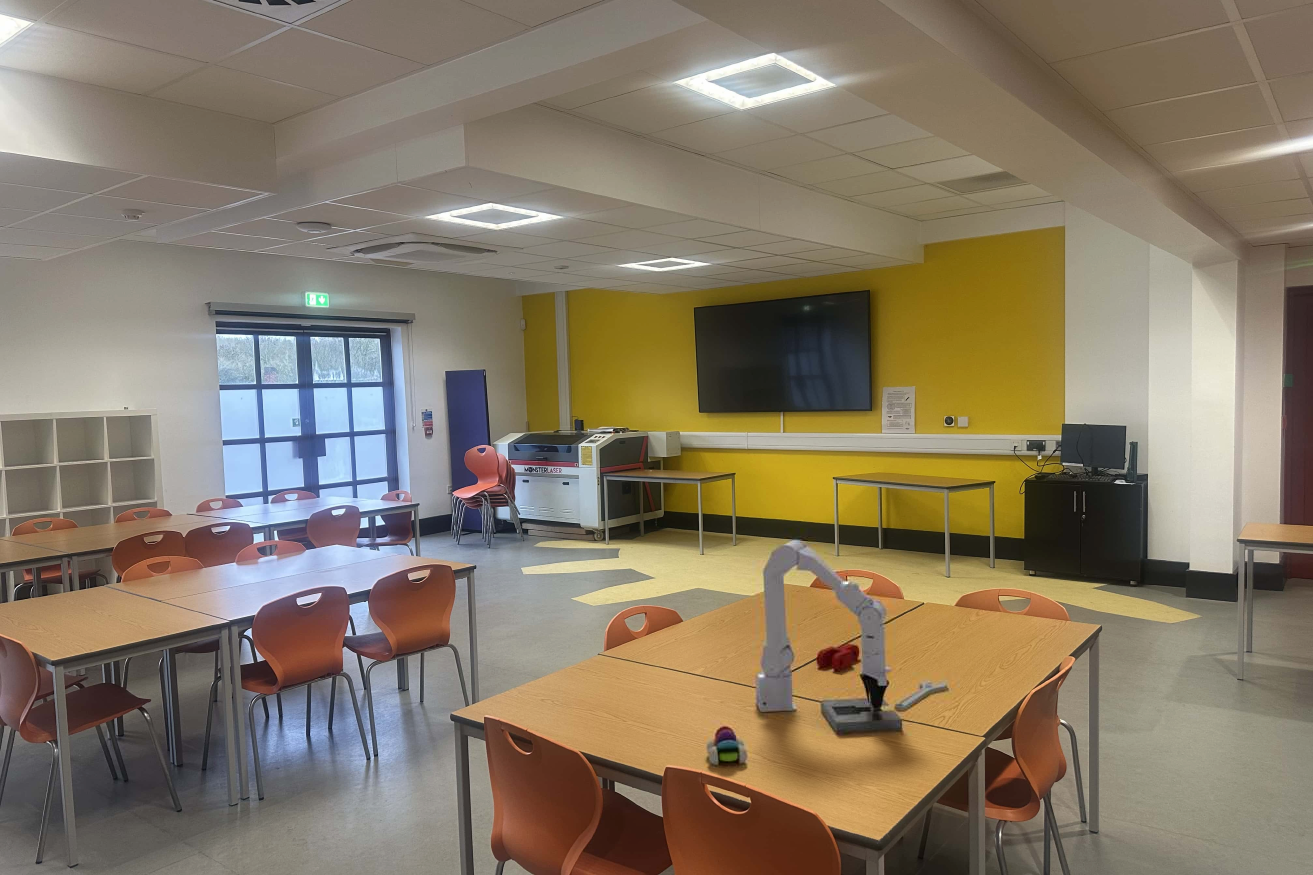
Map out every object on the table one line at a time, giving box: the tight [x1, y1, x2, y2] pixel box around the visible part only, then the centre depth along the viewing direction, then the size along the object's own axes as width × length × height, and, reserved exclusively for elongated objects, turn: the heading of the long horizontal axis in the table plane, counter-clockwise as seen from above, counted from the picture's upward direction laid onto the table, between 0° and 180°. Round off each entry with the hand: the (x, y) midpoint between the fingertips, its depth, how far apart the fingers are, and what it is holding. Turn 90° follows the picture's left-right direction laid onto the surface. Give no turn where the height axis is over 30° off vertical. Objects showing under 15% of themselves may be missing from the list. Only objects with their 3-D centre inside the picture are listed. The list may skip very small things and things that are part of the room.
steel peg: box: [869, 693, 880, 712], centre depth 215 cm, size 4×4×8 cm
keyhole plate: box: [820, 697, 903, 735], centre depth 215 cm, size 16×16×3 cm
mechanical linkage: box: [816, 643, 860, 672], centre depth 262 cm, size 16×7×5 cm, turn 134°
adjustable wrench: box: [893, 679, 948, 712], centre depth 231 cm, size 25×6×2 cm, turn 133°
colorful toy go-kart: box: [706, 725, 748, 766], centre depth 194 cm, size 8×10×7 cm
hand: (874, 705), depth 215 cm, fingers closed on steel peg, 3 cm apart
